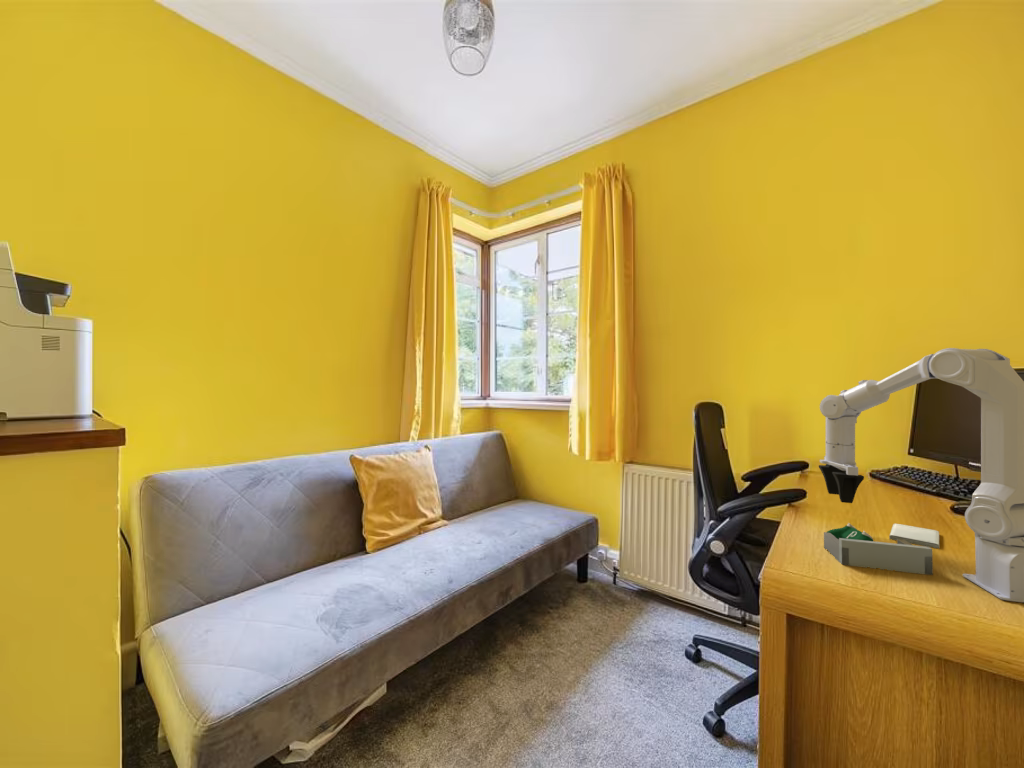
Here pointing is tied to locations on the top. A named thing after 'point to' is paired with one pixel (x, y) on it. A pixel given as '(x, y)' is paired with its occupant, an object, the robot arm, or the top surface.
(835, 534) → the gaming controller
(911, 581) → the top surface
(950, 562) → the top surface
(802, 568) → the top surface
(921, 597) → the top surface
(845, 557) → the tray
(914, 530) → the hard drive
